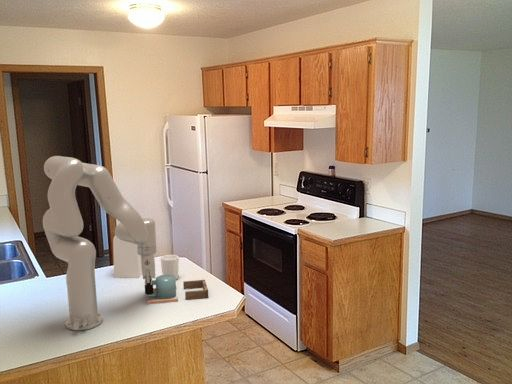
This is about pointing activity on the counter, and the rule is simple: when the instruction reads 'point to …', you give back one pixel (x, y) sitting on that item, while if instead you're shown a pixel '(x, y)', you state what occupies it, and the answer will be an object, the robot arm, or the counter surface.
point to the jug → (164, 287)
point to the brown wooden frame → (195, 294)
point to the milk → (126, 259)
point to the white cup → (170, 265)
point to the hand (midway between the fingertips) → (149, 292)
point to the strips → (162, 300)
